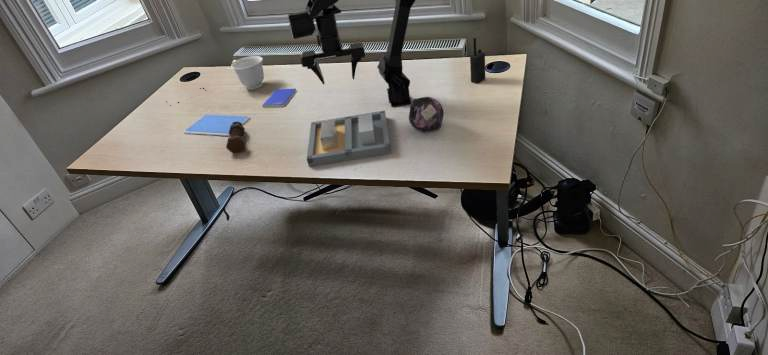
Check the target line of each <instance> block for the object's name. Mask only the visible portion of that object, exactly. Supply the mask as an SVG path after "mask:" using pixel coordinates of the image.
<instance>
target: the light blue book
mask: <svg viewBox="0 0 768 355" xmlns="http://www.w3.org/2000/svg"><path fill="white" fill-rule="evenodd" d="M249 120H250V116H248V115H223V114H205V115H203V116H202V117H201V118H200V119H198V120H197V121H195V122H194V123H193V124H190V126H189V127H188V128H186V129H185V130H184V131H183V133H184V134H185V133H186V134H187V135H191V134H192V135H204V134H205V136H206V135H207V136H209V135H210V136H220V137H221V136H223V137H231V135H230V134H229V130H230V126H231V125H232V123H233V122H240V123H242V126H243V127H244V125H245V124H246V123H247V122H248V121H249Z"/></svg>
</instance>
